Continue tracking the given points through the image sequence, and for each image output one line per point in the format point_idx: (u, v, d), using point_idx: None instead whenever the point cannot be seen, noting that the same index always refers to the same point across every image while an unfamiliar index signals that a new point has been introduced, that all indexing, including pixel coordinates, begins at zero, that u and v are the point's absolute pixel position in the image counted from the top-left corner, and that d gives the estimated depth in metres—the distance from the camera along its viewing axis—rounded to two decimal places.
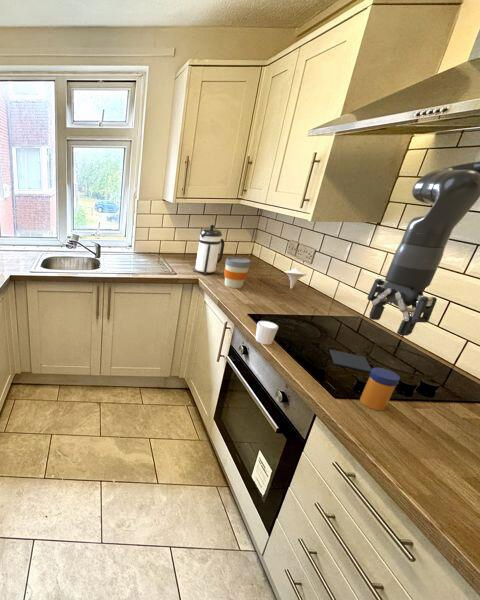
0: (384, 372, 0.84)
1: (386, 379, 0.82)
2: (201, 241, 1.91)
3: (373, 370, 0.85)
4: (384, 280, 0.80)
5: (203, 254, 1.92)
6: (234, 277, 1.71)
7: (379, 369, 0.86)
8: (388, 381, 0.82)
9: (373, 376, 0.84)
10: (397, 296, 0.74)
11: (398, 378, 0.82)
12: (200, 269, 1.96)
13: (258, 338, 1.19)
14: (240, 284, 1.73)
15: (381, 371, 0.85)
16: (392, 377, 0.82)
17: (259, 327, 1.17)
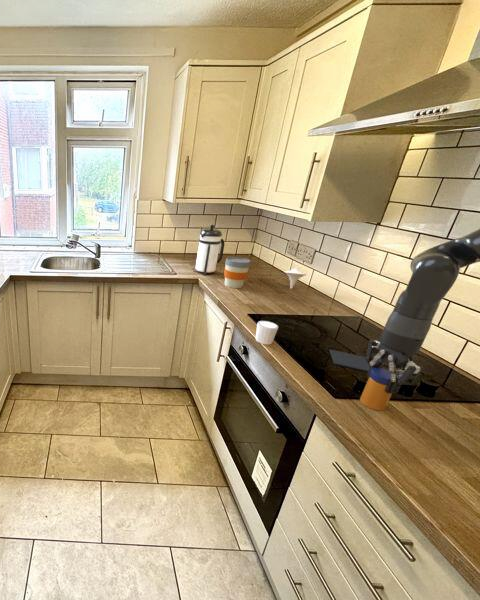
0: (384, 372, 0.84)
1: (386, 379, 0.82)
2: (201, 241, 1.91)
3: (373, 370, 0.85)
4: (415, 365, 0.76)
5: (203, 254, 1.92)
6: (234, 277, 1.71)
7: (379, 369, 0.86)
8: (388, 381, 0.82)
9: (373, 376, 0.84)
10: None
11: None
12: (200, 269, 1.96)
13: (258, 338, 1.19)
14: (240, 284, 1.73)
15: (381, 371, 0.85)
16: None
17: (259, 327, 1.17)
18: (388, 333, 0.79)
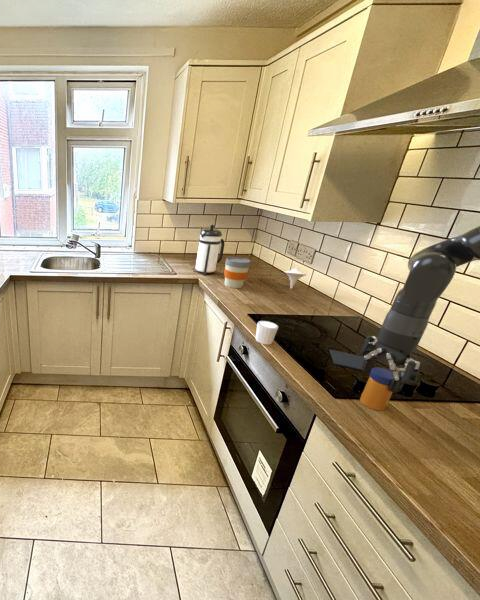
0: (383, 372, 0.84)
1: None
2: (201, 241, 1.91)
3: (384, 376, 0.82)
4: (413, 360, 0.77)
5: (203, 254, 1.92)
6: (234, 277, 1.71)
7: (377, 372, 0.84)
8: None
9: (390, 382, 0.82)
10: None
11: None
12: (200, 269, 1.96)
13: (258, 338, 1.19)
14: (240, 284, 1.73)
15: (382, 373, 0.84)
16: (392, 373, 0.84)
17: (259, 327, 1.17)
18: (386, 331, 0.80)
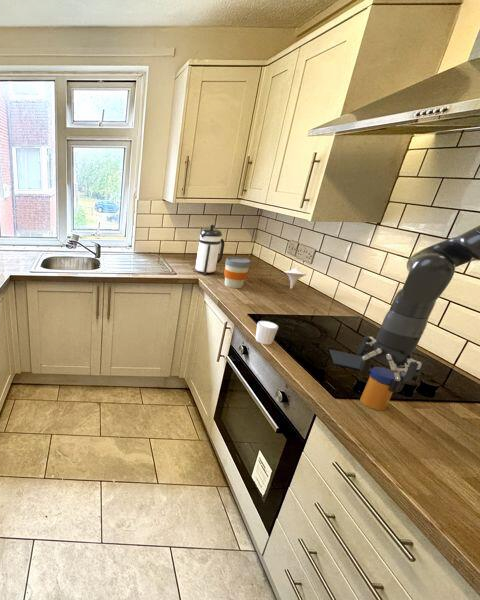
0: (386, 373, 0.84)
1: None
2: (201, 241, 1.91)
3: None
4: (415, 360, 0.77)
5: (203, 254, 1.92)
6: (234, 277, 1.71)
7: (388, 376, 0.82)
8: None
9: None
10: None
11: (377, 367, 0.86)
12: (200, 269, 1.96)
13: (258, 338, 1.19)
14: (240, 284, 1.73)
15: (388, 374, 0.83)
16: (383, 369, 0.85)
17: (259, 327, 1.17)
18: (386, 333, 0.80)
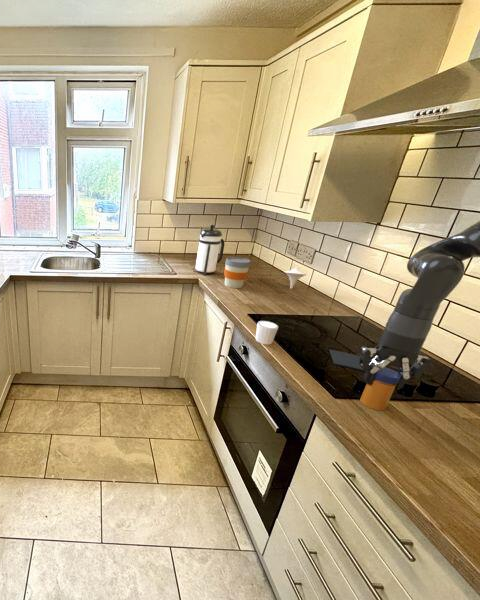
0: (384, 370, 0.84)
1: (391, 378, 0.81)
2: (201, 241, 1.91)
3: None
4: (423, 356, 0.80)
5: (203, 254, 1.92)
6: (234, 277, 1.71)
7: None
8: (393, 380, 0.82)
9: (377, 376, 0.84)
10: None
11: (400, 376, 0.82)
12: (200, 269, 1.96)
13: (258, 338, 1.19)
14: (240, 284, 1.73)
15: (381, 370, 0.85)
16: (394, 375, 0.82)
17: (259, 327, 1.17)
18: (413, 340, 0.76)
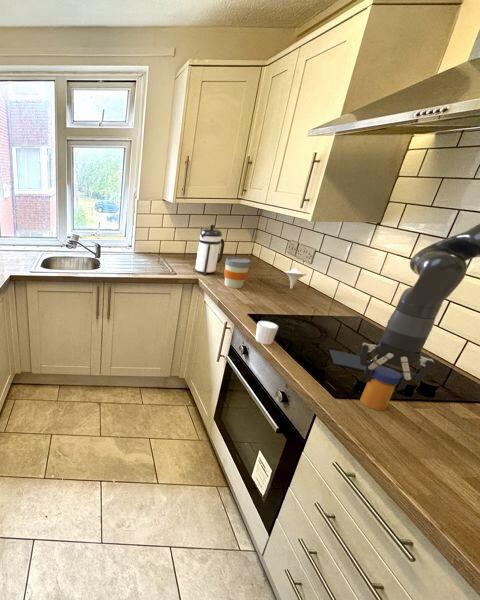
0: (384, 371, 0.84)
1: None
2: (201, 241, 1.91)
3: (385, 375, 0.82)
4: (428, 359, 0.78)
5: (203, 254, 1.92)
6: (234, 277, 1.71)
7: (378, 370, 0.84)
8: (400, 378, 0.82)
9: (391, 381, 0.81)
10: None
11: (394, 370, 0.84)
12: (200, 269, 1.96)
13: (258, 338, 1.19)
14: (240, 284, 1.73)
15: (383, 372, 0.84)
16: (394, 372, 0.83)
17: (259, 327, 1.17)
18: (408, 338, 0.76)
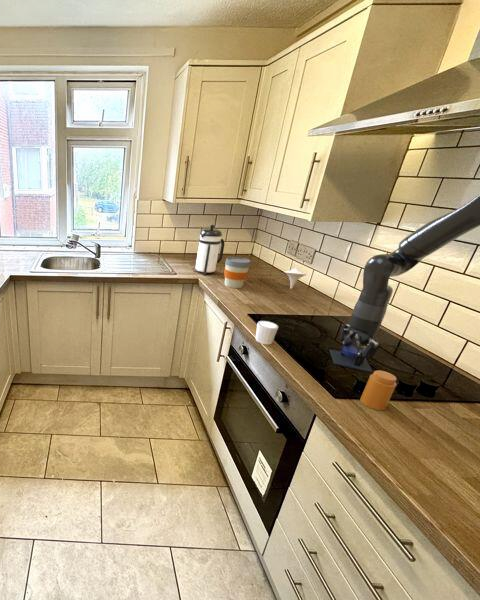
0: (352, 349, 1.06)
1: None
2: (201, 241, 1.91)
3: (345, 348, 1.06)
4: (374, 341, 0.98)
5: (203, 254, 1.92)
6: (234, 277, 1.71)
7: (348, 347, 1.07)
8: None
9: (347, 353, 1.05)
10: None
11: None
12: (200, 269, 1.96)
13: (258, 338, 1.19)
14: (240, 284, 1.73)
15: (350, 348, 1.07)
16: None
17: (259, 327, 1.17)
18: (354, 317, 1.01)
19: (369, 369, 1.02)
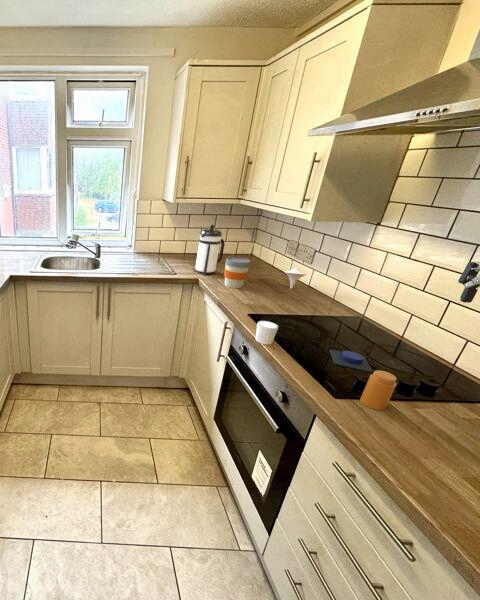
0: (351, 354, 1.07)
1: (355, 360, 1.04)
2: (201, 241, 1.91)
3: (343, 353, 1.07)
4: None
5: (203, 254, 1.92)
6: (234, 277, 1.71)
7: (346, 352, 1.08)
8: (356, 361, 1.04)
9: (345, 358, 1.06)
10: None
11: (362, 358, 1.05)
12: (200, 269, 1.96)
13: (258, 338, 1.19)
14: (240, 284, 1.73)
15: (348, 353, 1.07)
16: (358, 357, 1.05)
17: (259, 327, 1.17)
18: None
19: (369, 369, 1.02)
